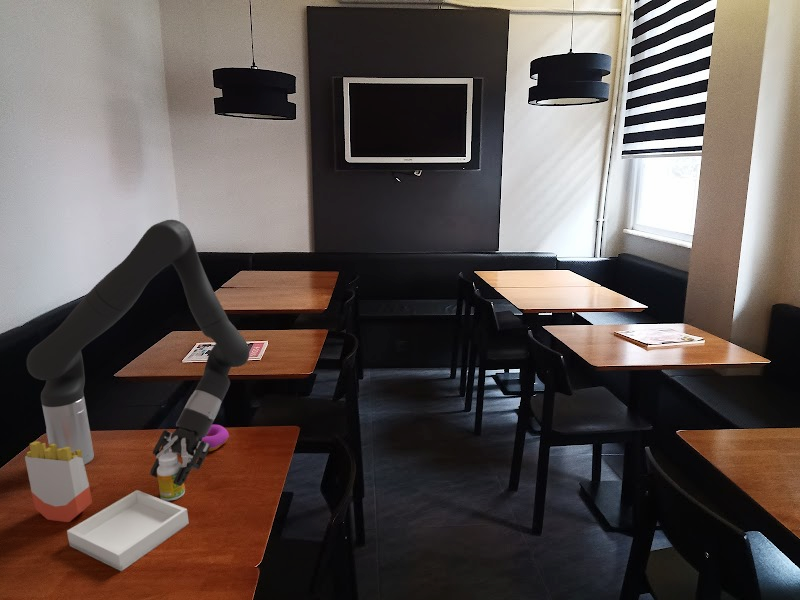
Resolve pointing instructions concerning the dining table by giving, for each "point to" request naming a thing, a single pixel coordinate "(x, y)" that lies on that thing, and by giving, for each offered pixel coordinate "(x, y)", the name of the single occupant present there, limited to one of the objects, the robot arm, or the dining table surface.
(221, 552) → the dining table surface
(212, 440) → the donut
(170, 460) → the supplement bottle
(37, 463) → the french fries container
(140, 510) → the tray
